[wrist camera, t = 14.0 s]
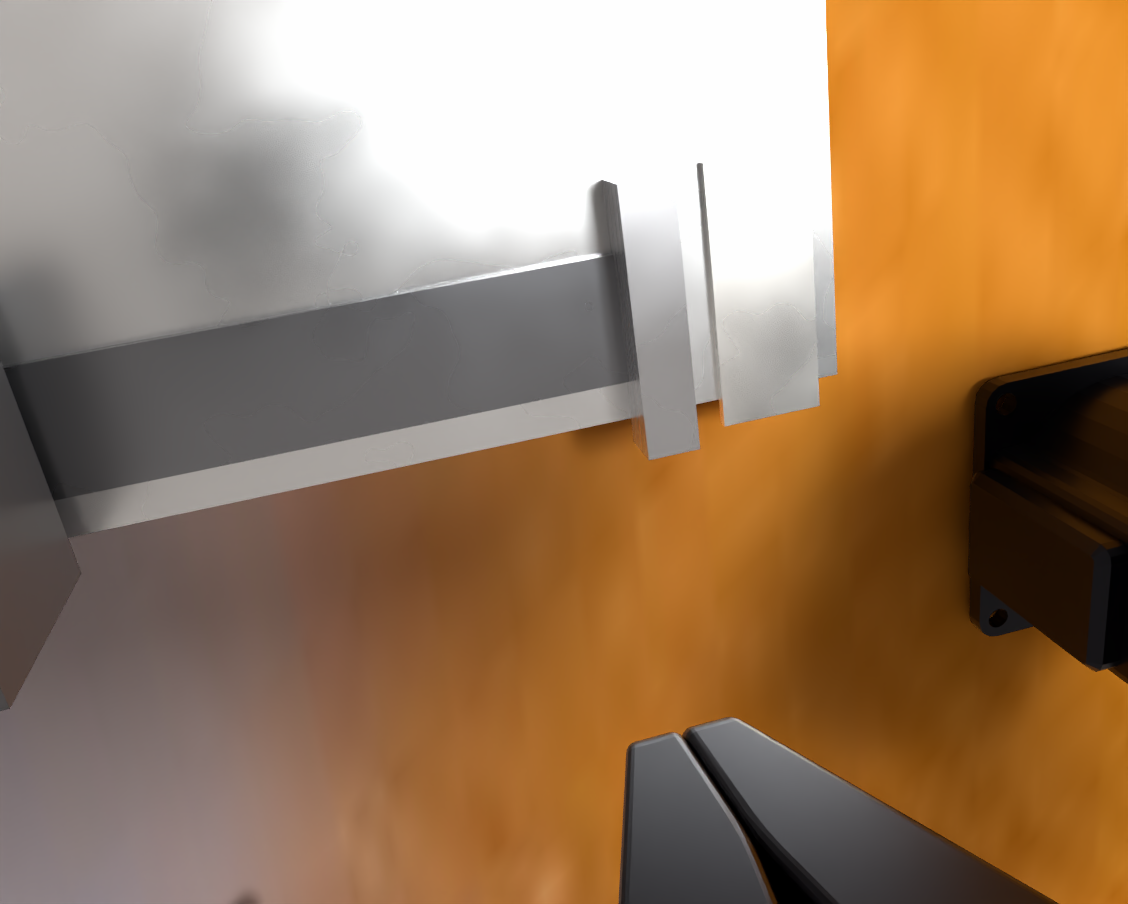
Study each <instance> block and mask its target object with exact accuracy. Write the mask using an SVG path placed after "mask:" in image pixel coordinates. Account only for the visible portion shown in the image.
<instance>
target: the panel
mask: <svg viewBox="0 0 1128 904" xmlns="http://www.w3.org/2000/svg"><path fill="white" fill-rule="evenodd" d="M0 360H1V363H2V366H3V368H4V371H5V374H6V376H7V379H8V381H9V384H10V387H11V389H12V392H13V395H14V397H15V400H16V403H17V405H18V408H19V410H20V413H21V416H22V418H23V421H24V424H25V426H26V429H27V432H28V434H29V437H30V439H31V442H32V445H33V447H34V450H35V453H36V455H37V458H38V461H39V463H40V466H41V468H42V471H43V474H44V476H45V479H46V482H47V484H48V487H49V490H50V492H51V495H52V497H53V500H54V503H55V505H56V508H57V511H58V513H59V516H60V519H61V521H62V524H63V526H64V529H65V532H66V534H67V537H68V538H70V537H74V536H79V535H84V534H89V533H93V532H98V531H103V530H107V529H112V528H117V527H121V526H126V525H131V524H136V523H140V522H145V521H150V520H154V519H159V518H164V517H168V516H173V515H178V514H183V513H187V512H192V511H197V510H201V509H206V508H211V507H215V506H220V505H225V504H230V503H234V502H239V501H244V500H248V499H253V498H258V497H263V496H267V495H272V494H277V493H281V492H286V491H291V490H295V489H300V488H305V487H310V486H314V485H319V484H324V483H328V482H333V481H338V480H342V479H347V478H352V477H357V476H361V475H366V474H371V473H375V472H380V471H385V470H389V469H394V468H399V467H404V466H408V465H413V464H418V463H422V462H427V461H432V460H436V459H441V458H446V457H451V456H455V455H460V454H465V453H469V452H474V451H479V450H483V449H488V448H493V447H498V446H502V445H507V444H512V443H516V442H521V441H526V440H531V439H535V438H540V437H545V436H549V435H554V434H559V433H563V432H568V431H573V430H578V429H582V428H587V427H592V426H596V425H601V424H606V423H610V422H615V421H620V420H625V419H629V418H631V424H632V432H633V440H634V443H635V444H636V445H637V447H638V448H639V449H640V450H641V451H642V452H643V454H644V455H645V456H646V457H647V458H648V460H652V459H657V458H661V457H666V456H670V455H675V454H679V453H684V452H688V451H693V450H698V449H700V443H699V432H698V421H697V410H696V404H700V403H704V402H709V401H714V400H719V406H720V418H721V424H722V425H724V426H729V425H733V424H738V423H743V422H747V421H752V420H756V419H761V418H766V417H770V416H775V415H779V414H784V413H789V412H793V411H798V410H802V409H807V408H812V407H816V406H819V381H818V378H822V377H827V376H831V375H836V374H837V353H836V323H835V292H834V262H833V232H832V201H831V171H830V141H829V110H828V80H827V50H826V19H825V0H0Z"/></svg>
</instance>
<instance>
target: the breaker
mask: <svg viewBox="0 0 1128 904" xmlns="http://www.w3.org/2000/svg"><path fill="white" fill-rule="evenodd" d="M80 575H81V571H80V569H79V566H78V563H77V561H76V558H75V555H74V553H73V550H72V548H71V545H70V542H69V540H68V537H67V534H66V532H65V529H64V526H63V524H62V521H61V519H60V516H59V513H58V511H57V508H56V505H55V503H54V500H53V497H52V495H51V492H50V490H49V487H48V484H47V482H46V479H45V476H44V474H43V471H42V468H41V466H40V463H39V461H38V458H37V455H36V453H35V450H34V447H33V445H32V442H31V439H30V437H29V434H28V432H27V429H26V426H25V424H24V421H23V418H22V416H21V413H20V410H19V408H18V405H17V403H16V400H15V397H14V395H13V392H12V389H11V387H10V384H9V381H8V379H7V376H6V374H5V371H4V368H3V366H2V363H1V360H0V711H2V710H6V709H10V707H11V706H12V704H13V702H14V700H15V698H16V696H17V694H18V692H19V690H20V688H21V687H22V685H23V683H24V681H25V679H26V677H27V675H28V673H29V671H30V669H31V668H32V666H33V664H34V662H35V660H36V658H37V656H38V654H39V652H40V650H41V649H42V647H43V645H44V643H45V641H46V639H47V637H48V635H49V633H50V631H51V630H52V628H53V626H54V624H55V622H56V620H57V618H58V616H59V614H60V613H61V611H62V609H63V607H64V605H65V603H66V601H67V599H68V597H69V595H70V594H71V592H72V590H73V588H74V586H75V584H76V582H77V580H78V578H79V576H80Z"/></svg>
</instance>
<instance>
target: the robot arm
mask: <svg viewBox="0 0 1128 904" xmlns="http://www.w3.org/2000/svg"><path fill="white" fill-rule="evenodd" d="M1004 394H1005V400H1004V403H1003V404H1002V405H1001V406H1000V407H999V408H997V409H996V404H997V401H998V399H999V398H1000V397H1001V396H1002V395H1004ZM968 574H969V576H970V614H969V615H970V620H971V622H972V623H973V624H974V626H976V627H977V628H978V629H979V630H980V631H981V632H983V633H984V634H986V635H988V636H999V635H1003V634H1006V633H1010V632H1014V631H1018V630H1021V629H1025V628H1029V627H1033V626H1034V627H1036V628H1037V629H1038V630H1039V631H1041V632H1042V633H1043V634H1045V635H1046V636H1047V637H1049V638H1050V639H1051V640H1052V641H1054V642H1055V643H1056V644H1058V645H1059V646H1060V647H1062V648H1063V649H1064V650H1065V651H1067V652H1068V653H1069V654H1071V655H1072V656H1073V657H1074V658H1076V659H1077V660H1078V661H1080V662H1081V663H1082V664H1084V665H1085V666H1086V667H1088V668H1089V669H1091V670H1093V671H1095V672H1097V671H1101V670H1105V669H1109V670H1110V671H1111V672H1113V673H1114V674H1115V675H1117V676H1118V677H1119V678H1121V679H1122V680H1123V681H1125V682H1126V683H1127V684H1128V349H1124V350H1120V351H1115V352H1111V353H1106V354H1102V355H1097V356H1092V357H1088V358H1083V359H1079V360H1074V361H1070V362H1065V363H1060V364H1056V365H1051V366H1047V367H1042V368H1038V369H1033V370H1028V371H1024V372H1019V373H1015V374H1010V375H1006V376H1001V377H997V378H994V379H991V380H989V381H987V382H986V383H985V384H984V385H983V386H982V387H981V388H980V390H979V391H978V393H977V395H976V399H975V410H974V451H973V479H972V481H971V484H970V513H969V556H968ZM996 610H997V611H996ZM994 611H996V613H995V614H994V615H993V617H991V618H990V615H991V614H992V613H993V612H994ZM619 904H1059V903H1057V902H1055V901H1054V900H1052V899H1050V898H1048V897H1047V896H1045V895H1043V894H1041V893H1040V892H1038V891H1036V890H1035V889H1033V888H1031V887H1029V886H1028V885H1026V884H1024V883H1022V882H1021V881H1019V880H1017V879H1015V878H1014V877H1012V876H1010V875H1009V874H1007V873H1005V872H1003V871H1002V870H1000V869H998V868H996V867H995V866H993V865H991V864H990V863H988V862H986V861H984V860H983V859H981V858H979V857H977V856H976V855H974V854H972V853H970V852H969V851H967V850H965V849H964V848H962V847H960V846H958V845H957V844H955V843H953V842H951V841H950V840H948V839H946V838H945V837H943V836H941V835H939V834H938V833H936V832H934V831H932V830H931V829H929V828H927V827H925V826H924V825H922V824H920V823H919V822H917V821H915V820H913V819H912V818H910V817H908V816H906V815H905V814H903V813H901V812H900V811H898V810H896V809H894V808H893V807H891V806H889V805H887V804H886V803H884V802H882V801H880V800H879V799H877V798H875V797H874V796H872V795H870V794H868V793H867V792H865V791H863V790H861V789H860V788H858V787H856V786H855V785H853V784H851V783H849V782H848V781H846V780H844V779H842V778H841V777H839V776H837V775H835V774H834V773H832V772H830V771H829V770H827V769H825V768H823V767H822V766H820V765H818V764H816V763H815V762H813V761H811V760H810V759H808V758H806V757H804V756H803V755H801V754H799V753H797V752H796V751H794V750H792V749H790V748H789V747H787V746H785V745H784V744H782V743H780V742H778V741H777V740H775V739H773V738H771V737H770V736H768V735H766V734H764V733H763V732H761V731H759V730H758V729H756V728H754V727H752V726H751V725H749V724H747V723H745V722H744V721H742V720H740V719H737V718H733V717H727V718H722V719H719V720H715V721H711V722H707V723H704V724H700V725H696V726H692V727H689V728H687V729H686V731H685V732H684V733H683V735H682V736H681V735H680V734H677V733H674V732H670V733H666V734H662V735H659V736H655V737H651V738H647V739H644V740H640V741H636V742H633V743H631V744H630V745H629V747H628V749H627V752H626V769H625V789H624V808H623V828H622V847H621V867H620V886H619Z"/></svg>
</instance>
